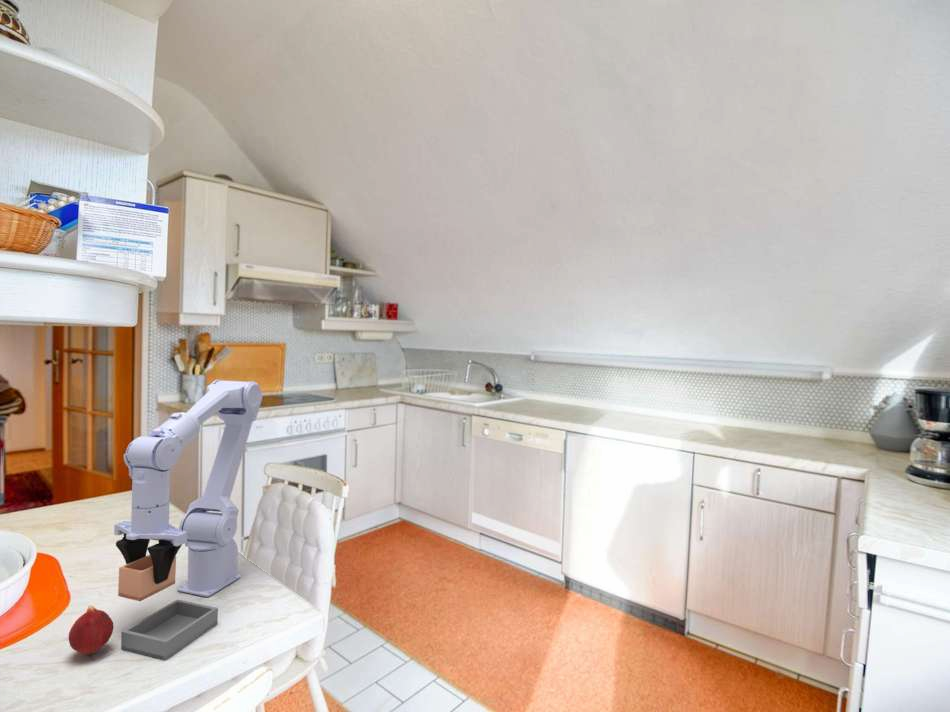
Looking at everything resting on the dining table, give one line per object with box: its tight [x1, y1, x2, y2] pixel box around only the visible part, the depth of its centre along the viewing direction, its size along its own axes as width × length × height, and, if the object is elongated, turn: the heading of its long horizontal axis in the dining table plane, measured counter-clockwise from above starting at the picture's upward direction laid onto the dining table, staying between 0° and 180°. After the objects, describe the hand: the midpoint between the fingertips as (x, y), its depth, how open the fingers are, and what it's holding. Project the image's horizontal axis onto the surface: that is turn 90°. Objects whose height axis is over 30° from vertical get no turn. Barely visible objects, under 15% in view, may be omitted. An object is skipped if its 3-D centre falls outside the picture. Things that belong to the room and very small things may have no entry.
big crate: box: [120, 599, 219, 661], centre depth 88 cm, size 11×9×3 cm
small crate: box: [117, 554, 177, 602], centre depth 90 cm, size 7×5×5 cm
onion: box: [67, 605, 115, 656], centre depth 82 cm, size 6×6×8 cm
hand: (149, 578), depth 90 cm, fingers closed on small crate, 5 cm apart
